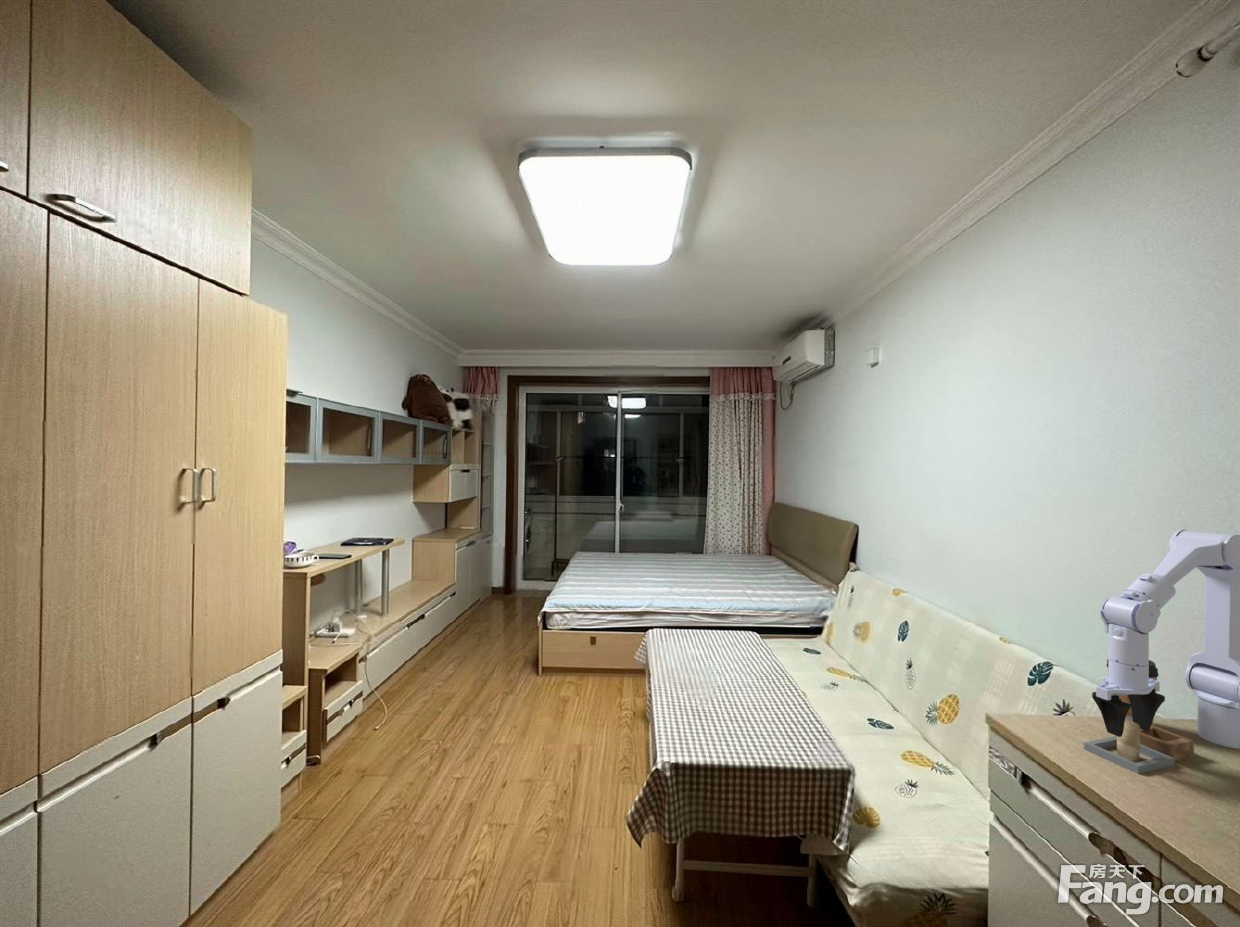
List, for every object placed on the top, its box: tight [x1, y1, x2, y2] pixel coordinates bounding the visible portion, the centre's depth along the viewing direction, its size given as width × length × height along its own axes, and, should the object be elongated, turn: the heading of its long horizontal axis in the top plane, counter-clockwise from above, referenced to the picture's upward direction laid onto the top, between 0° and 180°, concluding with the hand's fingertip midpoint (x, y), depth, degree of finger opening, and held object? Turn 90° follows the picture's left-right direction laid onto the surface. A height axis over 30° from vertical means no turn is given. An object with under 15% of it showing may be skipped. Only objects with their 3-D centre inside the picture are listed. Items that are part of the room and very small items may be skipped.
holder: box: [1140, 724, 1195, 762], centre depth 109 cm, size 7×7×4 cm
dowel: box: [1116, 720, 1140, 763], centre depth 106 cm, size 3×3×7 cm
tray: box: [1083, 735, 1176, 775], centre depth 106 cm, size 10×9×2 cm
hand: (1128, 731), depth 106 cm, fingers open, 7 cm apart
